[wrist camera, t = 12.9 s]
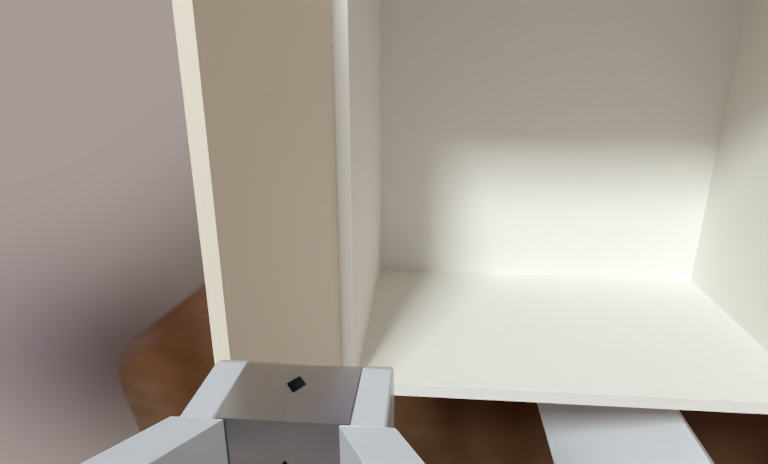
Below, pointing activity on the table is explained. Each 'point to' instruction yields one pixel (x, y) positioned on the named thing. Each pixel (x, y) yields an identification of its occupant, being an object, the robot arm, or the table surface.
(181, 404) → the table surface
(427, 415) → the table surface
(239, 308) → the flap
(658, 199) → the carton
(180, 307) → the table surface
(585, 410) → the milk carton
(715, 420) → the table surface
